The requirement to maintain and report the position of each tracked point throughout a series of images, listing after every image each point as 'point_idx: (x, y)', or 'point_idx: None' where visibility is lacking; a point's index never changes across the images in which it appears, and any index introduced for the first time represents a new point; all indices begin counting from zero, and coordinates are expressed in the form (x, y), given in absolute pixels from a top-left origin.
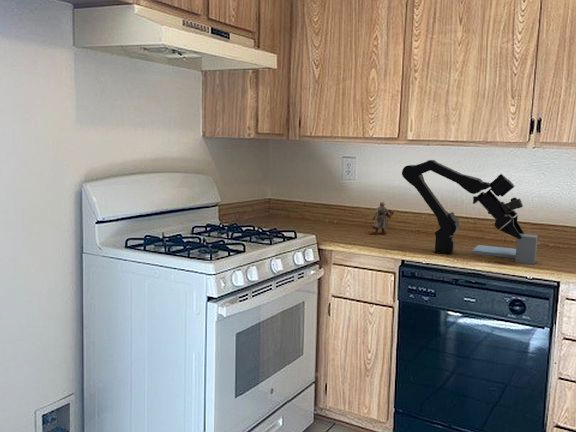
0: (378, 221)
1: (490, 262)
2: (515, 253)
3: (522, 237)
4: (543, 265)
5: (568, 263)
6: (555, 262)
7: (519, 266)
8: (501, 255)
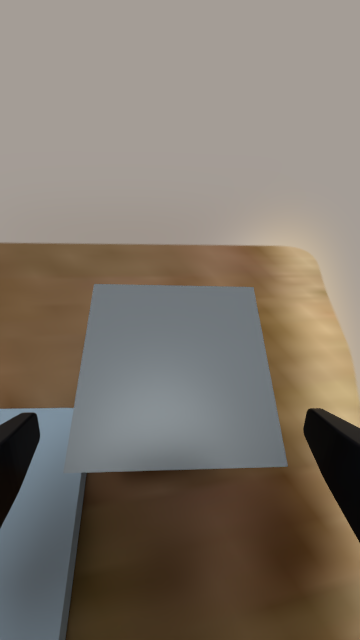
0: None
1: (334, 635)
2: None
3: (270, 405)
4: None
5: (91, 251)
6: None
7: (303, 423)
8: (66, 602)
